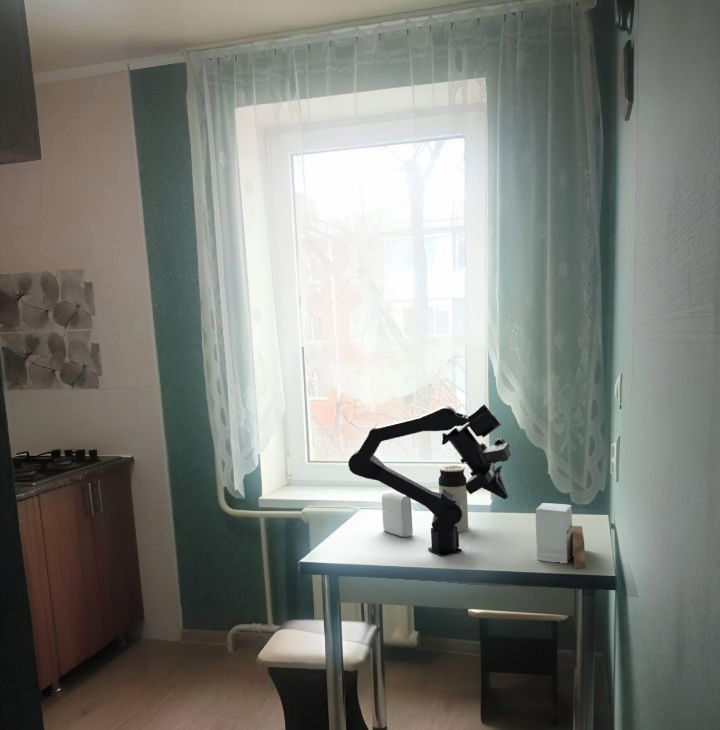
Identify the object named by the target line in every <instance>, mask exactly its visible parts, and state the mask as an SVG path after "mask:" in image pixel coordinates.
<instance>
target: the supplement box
mask: <svg viewBox="0 0 720 730" xmlns="http://www.w3.org/2000/svg"><path fill="white" fill-rule="evenodd" d="M572 514H573V513H572V504H564V503H548V502H542V503H541V504H540V505H539V506H537V508H536V509H535V537H536V539H535V540H536V560H537V561H540V562H541V561H543V562H549V563H555V562H560V563H559V564H563V563H567V564H568V563H569V561H570V560H571V558H572V557H573V533H572V526H573V517H572V516H573V515H572Z"/></svg>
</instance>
